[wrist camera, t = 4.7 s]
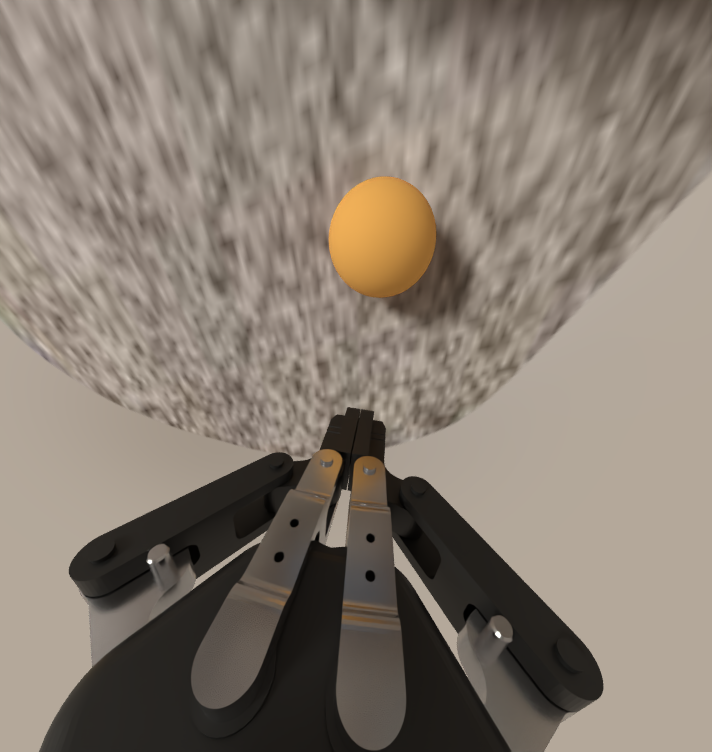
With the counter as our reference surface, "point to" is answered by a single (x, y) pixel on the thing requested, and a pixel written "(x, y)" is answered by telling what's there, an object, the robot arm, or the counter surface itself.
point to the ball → (382, 237)
